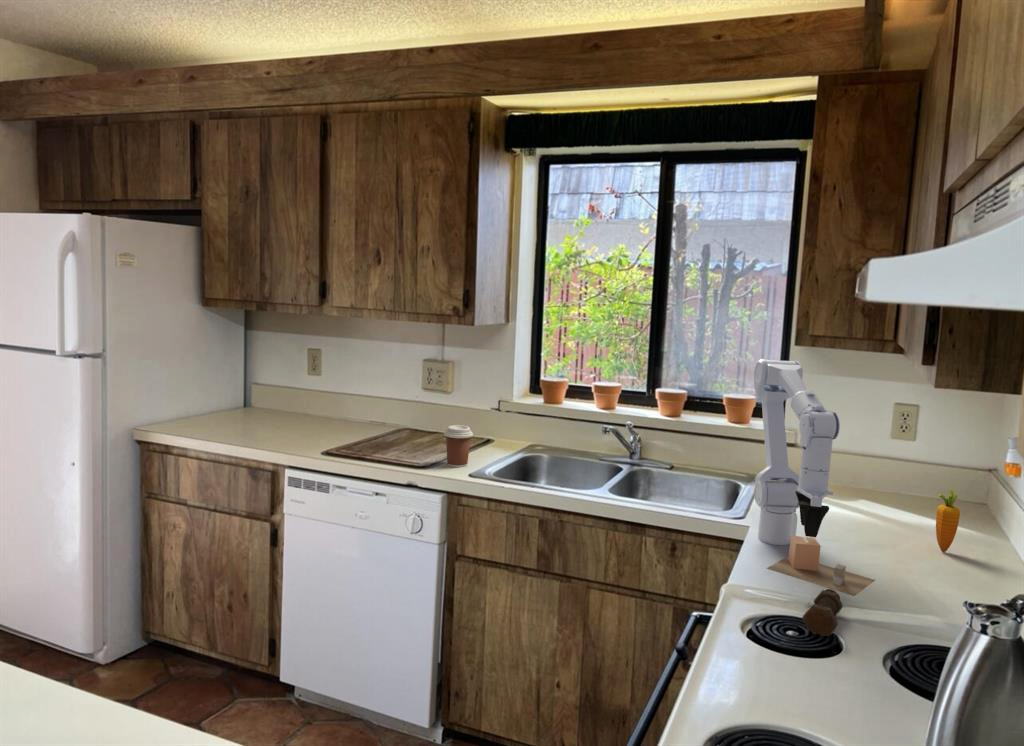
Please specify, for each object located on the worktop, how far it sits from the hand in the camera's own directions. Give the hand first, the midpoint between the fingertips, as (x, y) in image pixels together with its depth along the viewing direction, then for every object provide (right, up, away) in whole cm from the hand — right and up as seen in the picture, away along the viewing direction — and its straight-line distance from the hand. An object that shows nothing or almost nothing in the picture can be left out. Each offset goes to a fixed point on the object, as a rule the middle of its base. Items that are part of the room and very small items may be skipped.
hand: (808, 530), depth 162 cm
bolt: (-5, -13, -21) cm, 25 cm away
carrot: (+40, -9, +20) cm, 45 cm away
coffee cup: (-80, +4, +78) cm, 112 cm away
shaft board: (+1, -10, -2) cm, 10 cm away
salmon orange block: (0, -8, +2) cm, 8 cm away
